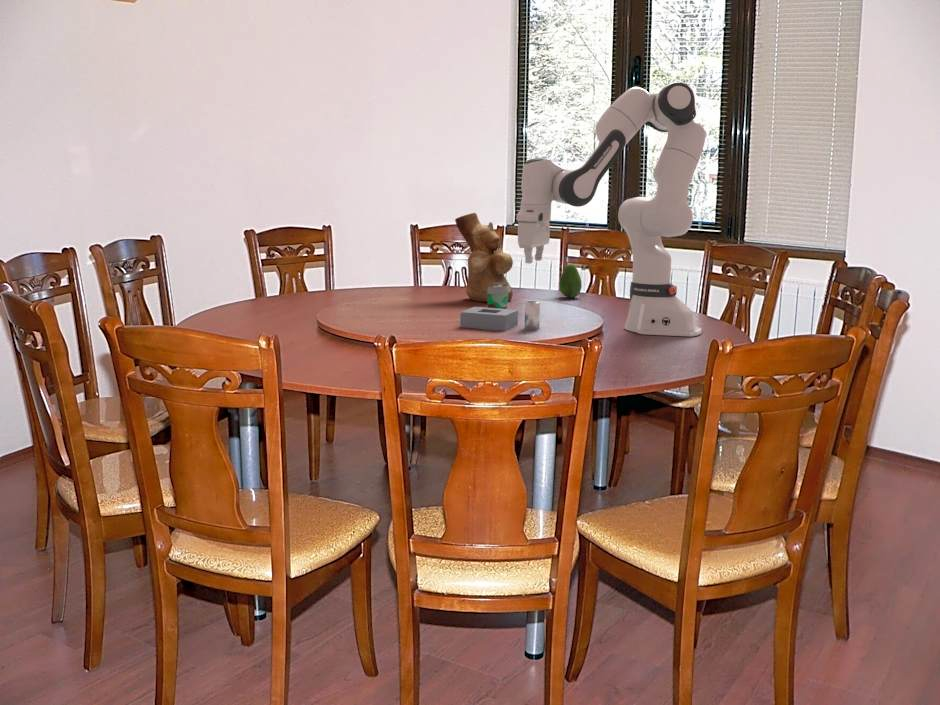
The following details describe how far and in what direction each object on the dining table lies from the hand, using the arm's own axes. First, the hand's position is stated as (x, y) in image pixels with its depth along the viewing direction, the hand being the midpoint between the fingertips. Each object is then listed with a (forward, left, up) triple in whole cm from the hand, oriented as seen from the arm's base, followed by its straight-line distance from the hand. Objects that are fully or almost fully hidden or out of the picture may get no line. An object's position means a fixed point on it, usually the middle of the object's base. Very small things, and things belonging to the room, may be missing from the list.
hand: (533, 261), depth 314 cm
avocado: (+7, -70, -20) cm, 73 cm away
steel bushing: (0, 0, -20) cm, 20 cm away
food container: (+16, -18, -20) cm, 31 cm away
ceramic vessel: (+33, -50, -20) cm, 63 cm away
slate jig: (+13, +1, -20) cm, 24 cm away
